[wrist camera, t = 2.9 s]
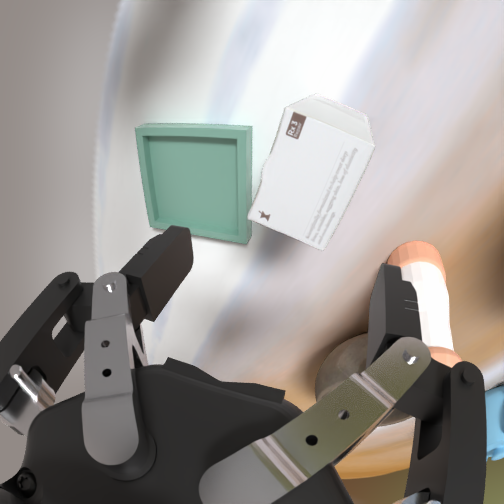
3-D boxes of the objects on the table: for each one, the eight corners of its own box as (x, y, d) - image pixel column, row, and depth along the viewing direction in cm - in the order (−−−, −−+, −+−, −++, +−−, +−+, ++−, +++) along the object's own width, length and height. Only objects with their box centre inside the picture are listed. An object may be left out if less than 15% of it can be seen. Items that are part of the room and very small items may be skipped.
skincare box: (338, 179, 32) (325, 260, 21) (287, 157, 33) (242, 225, 21) (369, 110, 27) (382, 149, 15) (312, 86, 27) (281, 106, 16)
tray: (144, 123, 35) (134, 127, 33) (252, 126, 32) (246, 130, 30) (157, 219, 43) (149, 226, 42) (251, 235, 40) (246, 244, 38)
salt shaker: (438, 286, 35) (457, 419, 20) (386, 289, 38) (383, 424, 23) (443, 239, 32) (479, 377, 17) (385, 242, 34) (390, 384, 20)
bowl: (426, 377, 46) (427, 426, 38) (332, 383, 53) (323, 430, 46) (430, 309, 38) (438, 367, 30) (312, 321, 45) (298, 376, 38)
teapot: (442, 408, 50) (442, 467, 39) (518, 365, 38) (530, 429, 27) (478, 427, 51) (480, 475, 41) (542, 391, 39) (550, 443, 29)
